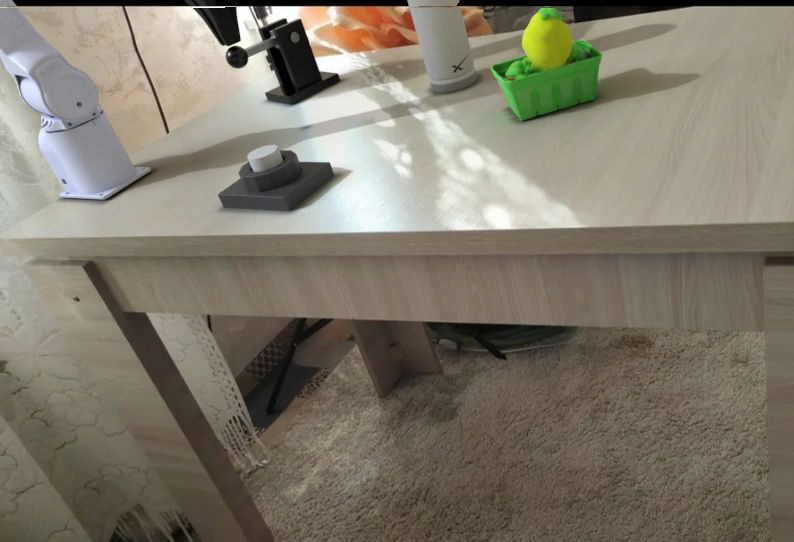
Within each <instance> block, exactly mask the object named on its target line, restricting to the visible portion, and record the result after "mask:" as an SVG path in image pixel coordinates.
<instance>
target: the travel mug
mask: <svg viewBox="0 0 794 542" xmlns="http://www.w3.org/2000/svg"><path fill="white" fill-rule="evenodd" d="M459 2H460V0H407V4H408V7H418V6H457V4H458V3H459ZM409 12H410V16H411V19H412V23H413V27H414V30H415V34H416V37H417V41H418V45H419V48H420V52H421V55H422V59H423V61H424V62H423V63H424V67H425V71H426V74H427V77H428V81H429V84H430V89H431V90H432V91H433V92H435V93H439V94H448V93H454V92H457V91H461V90H463V89H466V88H468V87H470V86H472V85H473V84H475V82H476V81H477V78H478V75H477V70H476V67H475V61H474V57H473V54H472V53H473V52H472V49H471V45H470V41H469V37H468V33H467V28H466V24H465V19H464V16H463V11H462V8H445V7H433V8H409Z"/></svg>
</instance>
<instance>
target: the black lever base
mask: <svg viewBox="0 0 794 542" xmlns="http://www.w3.org/2000/svg"><path fill="white" fill-rule="evenodd" d="M257 30H258V33H259V36H260V38H261V40H262V41H264V40H266V39H268V38H271V35H270V32H269V31H271V30H273V33H274V36H275V38H276V41H277V44H278V46H279V48H275V46H273V47H271V48H269V49H266V50H265V51H266V53H267V56H268V58H269V61H270V64H271V66H272V68H273V72H274V74H275V76H276V79H277V82H278V84H279V85H278V86H277V87H274V88H272V89H270V90H268V91H266V92H264V95H265V97H266V100H267V101H268V102H269V101H270V102H275V103H281V104H285V105H291V106H293V105H295V104H296V103H299V102H301V101H303V100H305V99H307V98H309V97H311V96H313V95H315V94H317V93H319V92H321V91H324V90H325V89H328V88H330V87H331V86H333V85H335V84H337V83H340V82H342V81H341V78H340V75H339V73H338V72H330V71H322V70H320V69H319V66H318V63H317V59H316V57H315V54H314V52H313V48H312V46H311V43H310V40H309V38H308V34H307V32H306V29H305V26H304V23H303V20H302V18H296V19H294V20H292V21H289V22H288V20H287V18H286V17H282V18H280V19H277V20H276V21H273V22H270V23H268V24H266V25H264V26H260V27H259V28H257Z"/></svg>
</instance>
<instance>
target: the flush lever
mask: <svg viewBox="0 0 794 542" xmlns="http://www.w3.org/2000/svg"><path fill="white" fill-rule="evenodd" d="M269 32H270V35H271V38H268V39H266V40H264V41H259V42H257V43H255V44H252V45H250V46H247V47H245V48H243V47H242V46H240V45H231V46H229V48H227V50H226V51H225V60H226V63H227V64H228V65H229V66H230V67H231V68H234V69H236V70H240V69H243V68H245V67H246V66H247V65H248V63H249V58H251V57H253V56H255V55H257V54H259V53H262V52H264V51H266V49H269V48H271V47H273V46H275V48H279V46H278V44H277V41H276V38H275V36H274V33H273V30H271V31H269Z"/></svg>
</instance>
